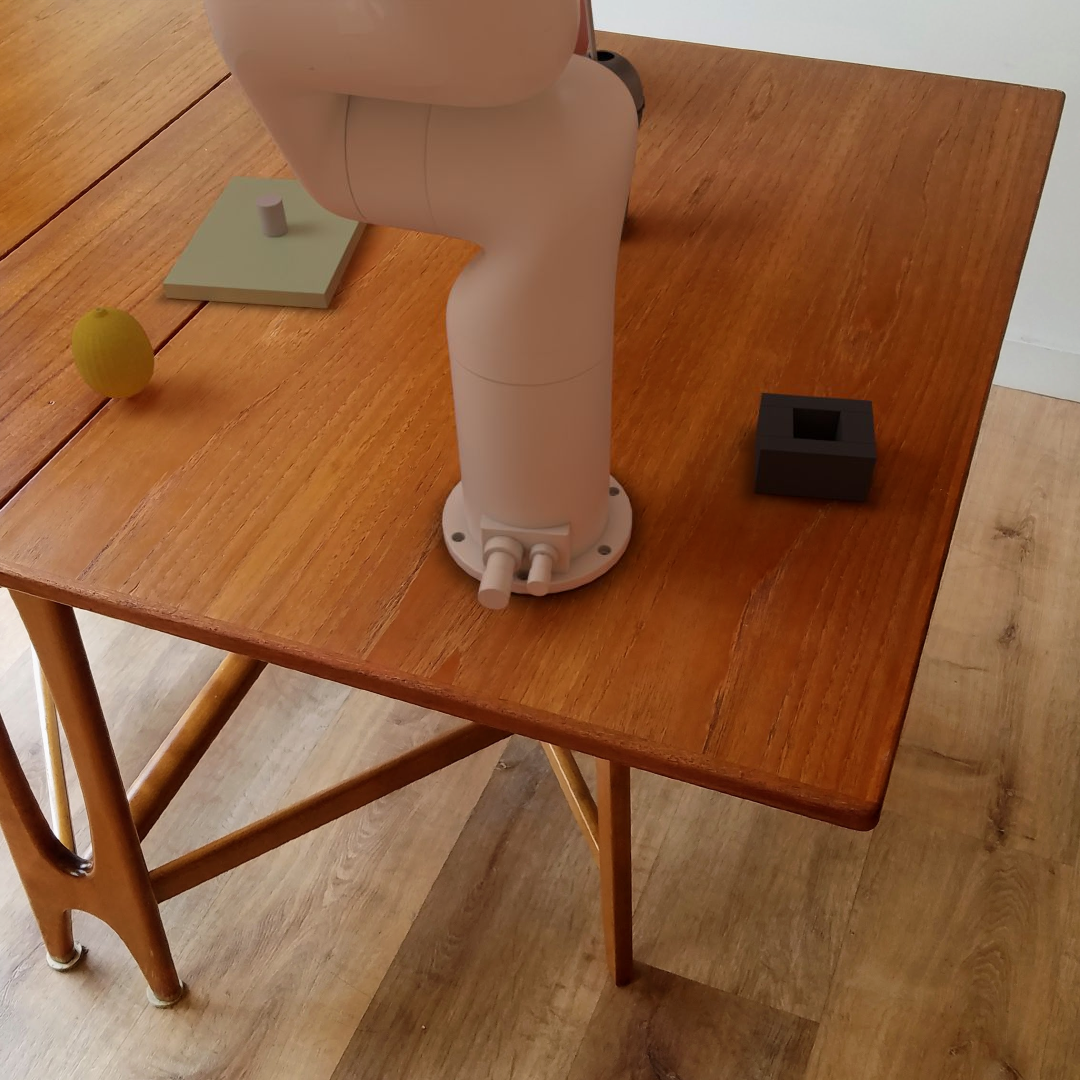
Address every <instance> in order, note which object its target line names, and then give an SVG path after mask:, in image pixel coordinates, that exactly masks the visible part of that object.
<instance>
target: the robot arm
mask: <svg viewBox="0 0 1080 1080" xmlns="http://www.w3.org/2000/svg"><path fill="white" fill-rule="evenodd" d="M202 3H203V4H202V5H203V10H204V12H205V15H206V19H207V23H208V26H209V30H210V33H211V35H212V37H213V40H214V42H215V45H216V47H217V49H218V52H219V53H220V56H221V58H222V61H223V62H224V63H225V65H226V67H227V69H228V70H229V72H230V74H231V76H232V77H233V79H234V81H235V83H236V84H237V86H238V87H239V89H240V91H241V92H242V94H243V96H244V97H245V99H246V101H247V102H248V103H249V105H250V107H251V109H252V110H253V112H254V113H255V115H256V116H257V119H258V120H259V121H260V123H261V124H262V126H263V127H264V129H265V131H266V132H267V134H268V136H269V138H271V140H272V142H273V144H274V145H275V146H276V148H277V150H278V151H279V153H280V154H281V156H282V157H283V159H284V161H285V162H286V164H287V166H288V167H289V168H290V169H289V170H291V172H292V173H293V175H294V176H295V178H296V180H298V181H299V182H300V184H301V185H302V186H303V188H304V189H305V190H306V192H307V193H308V194H309V195H310V196H311V197H312V198H313V199H314V200H315V201H316V202H317V203H318V204H319V205H320V206H322V207H323V208H325V209H326V210H328V211H329V212H331V213H333V214H335V215H337V216H340V217H343V218H346V219H350V220H354V221H359V222H363V223H367V224H370V225H375V226H380V227H386V228H393V229H400V230H405V231H411V232H417V233H423V234H425V233H426V234H431V235H437V236H444V237H446V238H450V239H456V240H461V241H465V242H470V243H473V244H475V245H477V246H478V247H481V248H480V249H479V250H478V251H477V253H475V255H473V257H472V258H471V259H470V260H469V261H468V262H467V264H466V265H465V266H464V267H463V269H462V270H461V271H460V272H459V275H458V276H457V277H456V279H455V281H454V282H453V285H452V287H451V288H450V292H449V295H448V298H447V303H446V308H445V309H446V310H445V325H446V326H445V328H446V339H447V340H446V341H447V347H448V348H447V349H448V356H449V357H448V358H449V368H450V377H451V386H452V387H451V388H452V397H453V398H452V399H453V407H454V417H455V418H454V419H455V427H456V428H455V429H456V438H457V447H458V457H459V468H460V477H461V480H460V481H459V482H458V483H457V484H456V485H455V486H454V487H453V489H452V490H451V492H450V494H449V495H448V496H447V498H446V501H445V503H444V504H445V505H444V507H443V511H442V534H443V539H444V543H445V545H446V548H447V550H448V553H449V554H450V556H451V558H452V559H453V560H454V561H455V563H456V564H457V565H458V566H459V567H460V568H461V569H462V570H463V571H464V572H465V573H466V574H467V575H469V576H471V577H472V578H474V579H476V580H477V581H479V582H480V583H479V588H478V591H477V601H478V602H479V604H480V605H481V606H482V607H484V608H486V609H489V610H494V611H499V610H503V609H505V608H506V607H507V606H508V605H509V603H510V599H511V593H515V594H523V595H524V594H525V595H532V596H534V597H535V596H536V597H543V596H545V595H547V594H557V593H561V592H565V591H570V590H573V589H576V588H579V587H581V586H583V585H586V584H589V583H591V582H593V581H594V580H597V579H598V578H599V577H601V576H602V575H604V574H606V573H607V572H608V571H609V570H610V569H611V568H612V567H614V566H615V565H616V564H617V563H618V561H619V560H620V559H621V557H622V556H623V555H624V553H625V552H626V551H627V548H628V545H629V542H630V541H631V535H632V528H633V509H632V505H631V502H630V498H629V496H628V495H627V493H626V491H625V490H624V488H623V486H622V485H621V484H620V483H619V481H617V479H616V478H615V477H614V476H613V475H611V447H612V446H611V445H612V444H611V443H612V442H611V441H612V407H613V406H612V405H613V400H612V399H613V370H614V335H615V305H616V304H615V303H616V286H617V285H616V284H617V274H618V273H617V271H618V262H619V252H620V245H621V239H622V234H623V233H622V227H623V222H624V217H625V211H626V206H627V201H628V196H629V197H630V195H629V192H630V193H631V186H632V183H633V182H632V181H633V177H634V173H635V172H634V171H635V166H636V160H637V152H638V147H639V146H638V144H639V130H638V117H637V111H636V107H635V104H634V101H633V98H632V96H631V94H630V92H629V90H628V88H627V87H626V85H625V84H624V83H623V82H622V80H621V79H620V78H619V77H618V76H617V75H616V74H614V73H613V72H612V71H611V70H609V69H608V68H606V67H605V66H603V65H601V64H599V63H598V62H596V61H593V60H591V59H589V58H586V57H583V56H580V55H577V54H573V52H574V50H575V47H576V43H577V38H578V32H579V25H580V0H202ZM621 233H622V234H621Z"/></svg>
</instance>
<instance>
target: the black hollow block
mask: <svg viewBox="0 0 1080 1080" xmlns="http://www.w3.org/2000/svg"><path fill="white" fill-rule="evenodd" d="M760 394H761V395H760V401H759V402H760V404H759V408H758V415H757V422H756V428H755V436H754V437H755V439H754V442H755V443H754V475H753V476H754V477H753V478H754V479H753V480H754V481H753V485H754V486H753V493H754V494H765V495H777V496H790V497H799V498H800V497H801V498H813V499H824V500H825V499H826V500H838V501H839V500H840V501H851V502H862V503H866V502H867V500H868V499H867V498H868V495H869V490H870V487H871V483H872V478H873V474H874V472H875V471H874V470H875V466H876V463H877V459H878V458H877V446H876V434H875V421H874V412H873V410H874V409H873V401H872V400H869V399H868V400H867V399H856V398H855V399H853V398H841V397H826V396H812V395H799V394H784V393H770V392H762V393H760Z"/></svg>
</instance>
